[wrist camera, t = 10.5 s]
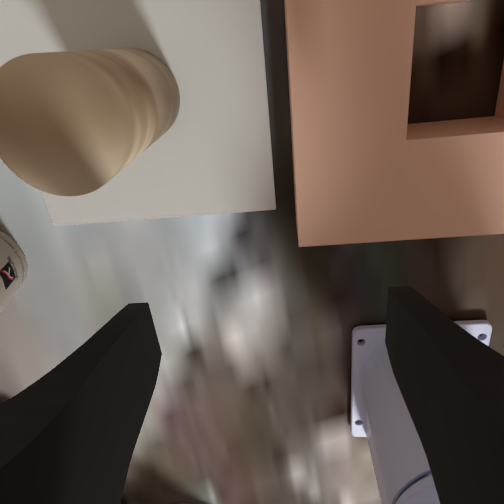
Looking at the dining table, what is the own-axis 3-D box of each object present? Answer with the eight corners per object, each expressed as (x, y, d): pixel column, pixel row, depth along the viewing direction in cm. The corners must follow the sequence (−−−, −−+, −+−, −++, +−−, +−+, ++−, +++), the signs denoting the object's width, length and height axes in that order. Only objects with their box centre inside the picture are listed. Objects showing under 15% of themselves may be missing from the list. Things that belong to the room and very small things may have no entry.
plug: (187, 136, 20) (138, 190, 13) (106, 144, 20) (14, 202, 13) (170, 42, 18) (102, 44, 11) (82, 53, 18) (-41, 61, 11)
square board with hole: (574, 201, 21) (617, 226, 18) (296, 221, 22) (298, 247, 20) (677, -174, 15) (767, -220, 12) (277, -117, 16) (278, -146, 13)
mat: (276, 205, 22) (276, 209, 21) (58, 221, 23) (53, 226, 22) (254, -80, 16) (253, -84, 16) (-32, -42, 17) (-41, -44, 17)
